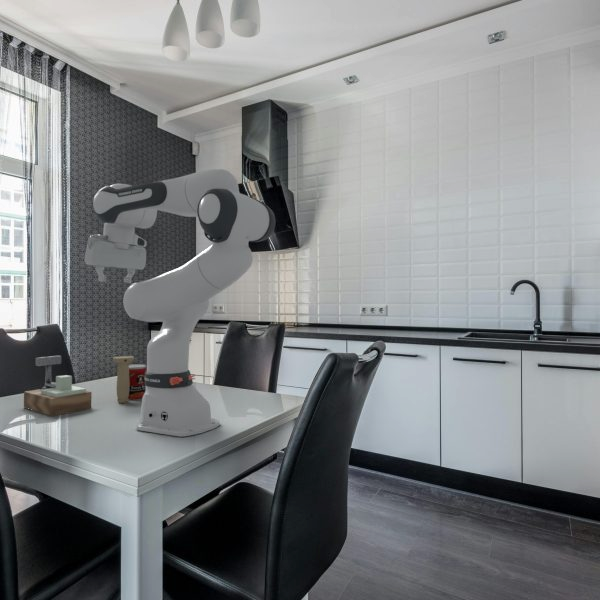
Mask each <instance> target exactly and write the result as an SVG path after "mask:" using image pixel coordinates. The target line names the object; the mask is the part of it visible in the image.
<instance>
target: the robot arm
mask: <svg viewBox="0 0 600 600" xmlns="http://www.w3.org/2000/svg"><path fill="white" fill-rule="evenodd" d="M92 198H93V199H92V203H91V204H92V206H91V207H92V210H93V211H94V214H95V215H96V217H97V218H98V219H99V221H101V223H103V233H102V234H97V233H93V234H91V235H90V236H89V237H88V238H87V245H86V248H85V255H84V264H86V265H88V266H95V272H96V274H97V276H98V277H97V281H98V282H101V283H102V282H104V283H106V282H107V277H108V276H107V275H105V273H104V270H105V267H107V268H120V269H126V272H127V274H126V276H123V283H126V284H130V285H129V286H128V287H127V289H126V290H125V292H124V295H123V299H122V300H123V308H124V310H125V312H126V314H127V315H128V316H129V318H131V319H133V320H138V321H141V322H148V323H157V322H161V323H162V325H161V327H160V330H159V332H158V333H157V334H156V335H155V336H154V337H152V338H151V339H150V340H149V341H148V343H147V348H146V372H145V385H146V390H145V393H144V395H143V398H141V407H140V416H139V423H137V425H136V431H141V432H146V433H147V432H149V433H153V434H161V435H166V436H173V437H174V436H175V437H189V436H194V435H199V434H202V433H206V432H208V431H209V432H210V431H212V430H214V429H215V428H217V427H218V426H220V424H221V423H220V420H218V419H216V418H213V417H212V412H211V411H212V410H211V405H210V402H209V401H208V400H207V399H206V398H205V397H204V396H203V395H202V394H201V393H200V391H199V390H198V389H197V388H196V387H195V386H194V385H193V384H194V382H193V380H196V378H195V377H196V374H191V370H189V361H190V358H189V357H190V344H191V339H192V335H193V332H194V329H195V327H196V326H197V324H198V322H199V321H200V319H201V318H202V317H203V316H204V315H206V313H207V311H208V309H209V306H210V305H209V304H210V303H209V302H210V299H211V298H213V297H215V296H216V295H218V294H220V293H221V292H223V291H225V290H226V289H228V288H229V287H230V286H232V285H233V284H234V283H237V281H238V280H239V279H240V278H241V277H243V276H244V275H245V274H246V273H247V272H248V271H249V269H250V268H251V267H252V264H253V252H252V250H251V248H250V246H249V243H258V242H264V241H266V240H268V239H269V238H270V237H271V236H272V234H273V232H274V231H275V227H276V216H275V213H274V211H273V210H272V209H271V208H270V207H269V206H268V205H267V204H265V203H264V202H262V201H260V200H258V199H256V198H254V197H252V196H248V195H246V194H244V193H241V192H240V188H239V184H238V181H237V179H236V177H235V176H234V174H233V173H231V172H230V171H229V170H226V169H223V168H222V169H221V168H219V169H218V168H217V169H207V170H200V171H197V172H192V173H190V174H186V175H182V176H180V177H174V178H170V179H164V180H158V181H154V182H145V183H141V184H135V185H132V184H129V183H128V184H127V183H113V184H112V185H105V186H104V187H102V188H101V189H99V190H98V191H97V192H96V193H95V194H94V196H93V197H92ZM159 212H164V213H168V214H174V215H177V216H182V217H187V218H189V217H191V218H194V217H195V218H196V217H197V218H198V221H199V224H200V227H201V228H202V230H203V234H204V236H205V237H206V239H207V240H209V241H210V242H212V244H211V245H210V246H209V247H207V248H206V249H204V250H202V251H201V252H200V253H198V254H197V255H196V256H194V257H193V258H192V259H190V260H189V261H187V262H186V263H184V264H183V265H181V266H179V267H178V268H174V269H173V270H169V271H167V272H165V273H162V274H160V275H158V276H155V277H153V278H150V279H146V280H141V281H138V282H137V281H136V282H134V283H132V278H133V276H134V275H135V274H136V270H141V271H143V270H144V268H146V263H147V250H146V248H147V247H146V246H147V244H148V243H147V240H145V239H144V238H142V237H141V236H139V235H138V234H136V233H135V232H136V231H135V228H138V229H143V230H145V229H151V228H153V227H154V225H156V223H157V222H158V220H159V215H160V213H159Z"/></svg>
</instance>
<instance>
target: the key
mask: <svg viewBox="0 0 600 600" xmlns="http://www.w3.org/2000/svg"><path fill="white" fill-rule="evenodd" d="M61 364H62V355H52V356H51V355H50V356H41V357H35V366H37V367H41V366H42V367H43V366H44V367H45V381H44V386H42V388H41V389H42V390H44V389H50V388H56V381H55V382H54V381H52V365H61Z"/></svg>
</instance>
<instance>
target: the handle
mask: <svg viewBox="0 0 600 600" xmlns="http://www.w3.org/2000/svg"><path fill="white" fill-rule="evenodd" d="M134 360H135V357H134V355H133V356H132V355H131V356H130V355H129V356H128V355H127V356H126V355H125V356H116V357H115V356H114V357H112V362H113V363H115V364H117V375H116V376H117V377H116V397H117V398H116V400H117V403H118V404H126V403H128V402H129V400H130V399H129V398H128V396H129V388H130V387H129V386H130V385H129V384H130V382H129V365H130V364H131V363H132V362H134Z"/></svg>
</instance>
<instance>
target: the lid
mask: <svg viewBox="0 0 600 600" xmlns="http://www.w3.org/2000/svg"><path fill="white" fill-rule="evenodd" d="M55 383H56V388H50V389H44V390H41V394H43V395H47V396H51V397H55V398H57V397H63V396H69V395H74V394H80V393H86V391H87V388H85V387H84V388H83V387H80V386H74V385H73V376H72V375H67V374H65V375H56V376H55Z"/></svg>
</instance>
